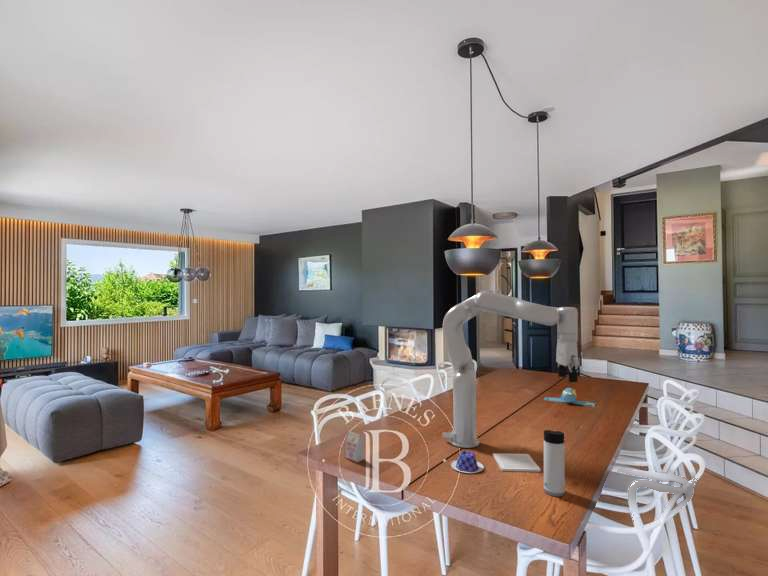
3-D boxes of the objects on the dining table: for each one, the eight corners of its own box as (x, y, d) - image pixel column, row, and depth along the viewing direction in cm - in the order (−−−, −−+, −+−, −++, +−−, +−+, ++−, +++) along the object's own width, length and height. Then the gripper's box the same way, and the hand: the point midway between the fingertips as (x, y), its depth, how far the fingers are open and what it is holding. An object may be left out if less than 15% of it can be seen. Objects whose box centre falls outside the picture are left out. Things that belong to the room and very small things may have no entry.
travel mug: (543, 495, 129) (543, 432, 129) (543, 485, 135) (543, 426, 135) (565, 498, 127) (565, 435, 127) (563, 489, 133) (563, 428, 133)
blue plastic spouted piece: (596, 388, 237) (594, 394, 224) (596, 403, 237) (594, 410, 225) (546, 383, 252) (541, 388, 239) (546, 396, 252) (541, 403, 239)
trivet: (501, 471, 146) (501, 468, 146) (492, 455, 160) (492, 453, 160) (540, 471, 146) (540, 469, 146) (528, 455, 160) (528, 453, 160)
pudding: (449, 460, 156) (449, 446, 156) (481, 461, 155) (481, 448, 155) (452, 474, 144) (452, 459, 144) (486, 475, 143) (486, 461, 143)
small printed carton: (351, 454, 161) (351, 429, 161) (363, 459, 156) (363, 433, 156) (344, 457, 158) (344, 432, 158) (356, 462, 153) (356, 436, 154)
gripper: (549, 335, 172) (549, 374, 172) (567, 339, 155) (567, 384, 155) (566, 335, 172) (566, 375, 172) (587, 339, 155) (587, 384, 155)
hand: (567, 379), depth 164 cm, fingers open, 9 cm apart
